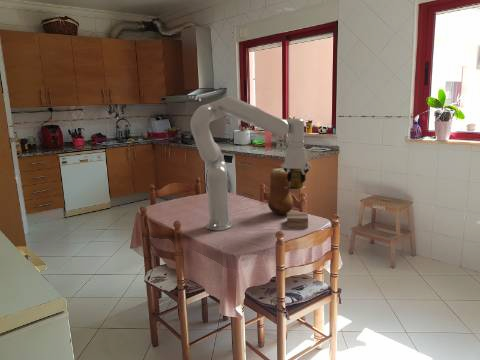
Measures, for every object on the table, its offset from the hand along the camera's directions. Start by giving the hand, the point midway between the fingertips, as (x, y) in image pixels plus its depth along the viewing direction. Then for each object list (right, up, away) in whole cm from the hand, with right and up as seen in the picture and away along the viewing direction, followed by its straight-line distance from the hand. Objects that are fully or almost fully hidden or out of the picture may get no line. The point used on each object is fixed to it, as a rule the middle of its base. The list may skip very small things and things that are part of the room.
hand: (296, 181), depth 184 cm
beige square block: (+1, -22, +5) cm, 22 cm away
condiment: (0, -3, +1) cm, 4 cm away
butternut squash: (-5, -18, +22) cm, 29 cm away
